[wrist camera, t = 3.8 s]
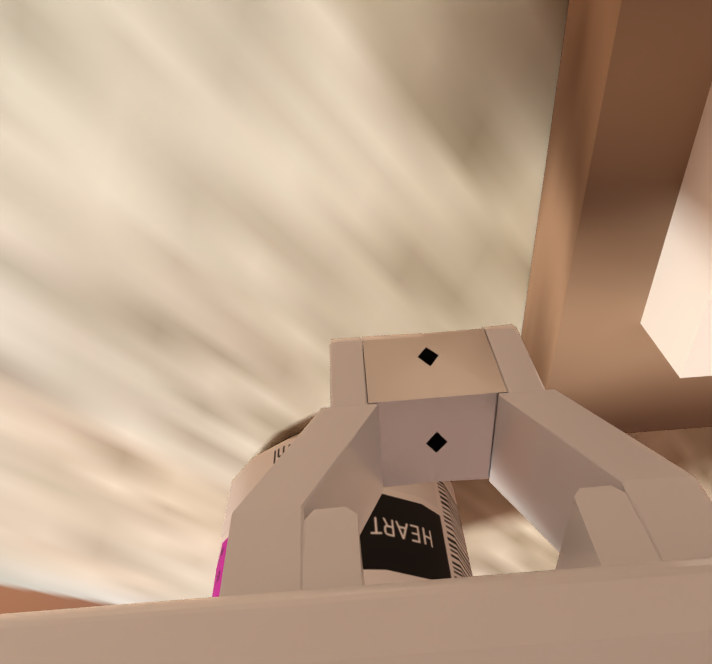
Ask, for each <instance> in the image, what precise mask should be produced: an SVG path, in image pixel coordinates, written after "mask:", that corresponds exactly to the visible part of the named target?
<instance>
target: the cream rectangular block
mask: <svg viewBox="0 0 712 664" xmlns="http://www.w3.org/2000/svg"><path fill="white" fill-rule="evenodd" d="M641 325H642V326H643V328H644V329H645V330H646V332H647V333H648V335H649V336H650V337H651V339H652V340H653V341H654V343H655V344H656V346H657V347H658V348H659V350H660V351H661V352H662V354H663V355H664V357H665V358H666V359H667V361H668V362H669V364H670V365H671V366H672V368H673V369H674V370H675V372H676V373H677V375H678V376H679V377H680V378H688V377H701V376H712V83H711V87H710V90H709V94H708V97H707V100H706V104H705V107H704V110H703V114H702V117H701V121H700V124H699V127H698V131H697V134H696V137H695V141H694V144H693V147H692V151H691V154H690V158H689V161H688V164H687V168H686V171H685V174H684V178H683V181H682V185H681V188H680V191H679V195H678V198H677V201H676V205H675V208H674V211H673V215H672V218H671V222H670V225H669V228H668V232H667V235H666V238H665V242H664V245H663V249H662V252H661V255H660V259H659V262H658V265H657V269H656V272H655V275H654V279H653V282H652V286H651V289H650V292H649V296H648V299H647V302H646V306H645V309H644V313H643V316H642V319H641Z"/></svg>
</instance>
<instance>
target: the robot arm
mask: <svg viewBox="0 0 712 664" xmlns="http://www.w3.org/2000/svg"><path fill="white" fill-rule="evenodd" d="M362 344H363V348H362ZM363 358H364V359H363ZM330 403H331V407H330V408H322V409H320V411H319V412H318V413H317V414H316V415H315V417H314V418H313V419H312V420H311V421H310V422H309V424H308V425H307V426H306V427H305V428H304V429H303V431H302V432H301V433H300V434H299V435H298V436H297V438H296V439H295V440H294V441H293V442H292V443H291V445H290V446H289V447H288V448H287V449H286V450H285V452H284V453H283V454H282V455H281V456H280V457H279V459H278V460H277V461H276V462H275V463H274V465H273V466H272V467H271V468H270V469H269V470H268V472H267V473H266V474H265V475H264V476H263V477H262V479H261V480H260V481H259V482H258V483H257V484H256V486H255V487H254V488H253V489H252V490H251V491H250V493H249V494H248V495H247V496H246V497H245V498H244V500H243V501H242V502H241V503H240V504H239V506H238V507H237V508H236V509H235V510H234V511H233V513H232V516H231V523H230V529H229V536H228V542H227V549H226V555H225V561H224V568H223V574H222V581H221V587H220V594H219V597H209V598H196V599H184V600H171V601H159V602H146V603H134V604H121V605H109V606H96V607H84V608H71V609H59V610H47V611H34V612H22V613H9V614H0V664H712V502H711V500H710V499H709V497H708V496H707V494H706V493H705V491H704V489H703V488H702V486H701V485H700V483H699V482H698V480H697V479H696V477H695V476H693V475H692V474H690V473H688V472H687V471H685V470H684V469H682V468H680V467H679V466H677V465H676V464H674V463H672V462H671V461H669V460H667V459H666V458H664V457H663V456H661V455H659V454H658V453H656V452H655V451H653V450H651V449H650V448H648V447H647V446H645V445H643V444H642V443H640V442H639V441H637V440H635V439H634V438H632V437H631V436H629V435H627V434H626V433H624V432H622V431H621V430H619V429H618V428H616V427H614V426H613V425H611V424H610V423H608V422H606V421H605V420H603V419H602V418H600V417H598V416H597V415H595V414H594V413H592V412H590V411H589V410H587V409H586V408H584V407H582V406H581V405H579V404H578V403H576V402H574V401H573V400H571V399H569V398H568V397H566V396H565V395H563V394H561V393H560V392H558V391H557V390H555V389H553V390H545V388H544V386H543V384H542V382H541V379H540V377H539V375H538V373H537V371H536V369H535V366H534V364H533V362H532V360H531V358H530V356H529V353H528V351H527V349H526V347H525V345H524V343H523V341H522V338H521V336H520V334H519V332H518V330H517V328H516V327H515V326H514V325H512V324H509V325H500V326H491V327H482V328H481V329H470V330H459V331H447V332H436V333H424V334H422V333H417V334H401V335H384V336H368V337H362V339H361V338H360V337H355V338H342V339H331V342H330ZM476 479H489V482H490V483H491V484H492V485H493V486H494V487H495V488H496V489H497V490H498V491H499V492H500V493H501V494H502V495H503V496H504V497H505V498H506V499H507V500H508V501H509V502H510V503H511V504H512V505H513V506H514V507H515V508H516V509H517V510H518V511H519V512H520V513H521V514H522V515H523V516H524V517H525V518H526V519H527V520H528V521H529V522H530V523H531V524H532V525H533V526H534V527H535V528H536V529H537V530H538V531H539V532H540V533H541V534H542V535H543V536H544V537H545V538H546V540H547V541H548V542H549V543H550V544H551V545H552V546H553V547H554V548H555V549H556V550H557V551H558V552H559V553H560V554H559V558H558V562H557V566H556V569H555V570H547V571H535V572H522V573H510V574H497V575H484V576H472V577H459V578H447V579H434V580H421V581H409V582H396V583H384V584H371V585H365V582H364V572H363V563H362V553H361V544H360V534H361V532H362V530H363V528H364V526H365V524H366V523H367V521H368V519H369V517H370V515H371V513H372V511H373V509H374V508H375V506H376V504H377V502H378V500H379V498H380V496H381V494H382V493H383V491H384V489H383V487H391V486H400V485H410V484H419V483H428V482H440V481H458V480H476Z"/></svg>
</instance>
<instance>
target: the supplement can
mask: <svg viewBox="0 0 712 664" xmlns="http://www.w3.org/2000/svg"><path fill="white" fill-rule="evenodd" d="M298 435H299V434H296V435H294V436H292V437H290V438H289V439H287V440H285V441H283V442H281V443H279V444H277V445H275V446H273V447H272V448H270V449H268V450H266V451H264V452H262V453H260V454H258V455H257V456H255V457H253V458H252V459H251V460H250V461H249V462H248V463H247V464H246V466H245V467H244V468H243V469H242V470H241V471H240V472H239V474H238V475H237V476H236V477H235V478H234V479H233V480H232V483H231V488H230V492H229V497H228V501H227V505H226V512H225V518H224V524H223V531H222V537H221V544H220V550H219V556H218V563H217V569H216V576H215V582H214V588H213V595H212V597H219V594H220V587H221V581H222V574H223V568H224V561H225V555H226V549H227V542H228V536H229V529H230V523H231V516H232V513H233V511H234V510H235V509H236V508H237V507H238V506H239V504H240V503H241V502H242V501H243V500H244V498H245V497H246V496H247V495H248V494H249V493H250V491H251V490H252V489H253V488H254V487H255V486H256V484H257V483H258V482H259V481H260V480H261V479H262V477H263V476H264V475H265V474H266V473H267V472H268V470H269V469H270V468H271V467H272V466H273V465H274V463H275V462H276V461H277V460H278V459H279V457H280V456H281V455H282V454H283V453H284V452H285V450H286V449H287V448H288V447H289V446H290V445H291V443H292V442H293V441H294V440H295V439H296V438H297V436H298ZM383 489H384V491H383V493H382V494H381V496H380V498H379V500H378V502H377V504H376V506H375V508H374V509H373V511H372V513H371V515H370V517H369V519H368V521H367V523H366V524H365V526H364V528H363V530H362V532H361V534H360V544H361V553H362V563H363V572H364V582H365V585H371V584H384V583H396V582H409V581H421V580H434V579H447V578H459V577H472V571H471V567H470V562H469V557H468V553H467V548H466V543H465V539H464V534H463V530H462V525H461V520H460V516H459V511H458V506H457V502H456V497H455V493H454V488H453V485H452V483H451V481H440V482H428V483H419V484H410V485H400V486H391V487H383Z"/></svg>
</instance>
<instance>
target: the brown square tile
mask: <svg viewBox="0 0 712 664" xmlns="http://www.w3.org/2000/svg"><path fill="white" fill-rule="evenodd" d="M711 83H712V0H569V5H568V12H567V19H566V26H565V33H564V40H563V47H562V54H561V61H560V68H559V75H558V82H557V89H556V96H555V103H554V110H553V117H552V124H551V131H550V138H549V146H548V153H547V160H546V167H545V174H544V181H543V188H542V195H541V202H540V209H539V216H538V223H537V230H536V237H535V244H534V251H533V258H532V265H531V272H530V279H529V286H528V293H527V300H526V307H525V314H524V321H523V328H522V335H521V338H522V341H523V343H524V345H525V347H526V349H527V351H528V353H529V356H530V358H531V360H532V362H533V364H534V366H535V369H536V371H537V373H538V375H539V377H540V379H541V382H542V384H543V386H544V388H545V390H553V389H555V390H557V391H558V392H560V393H561V394H563V395H565V396H566V397H568V398H569V399H571V400H573V401H574V402H576V403H578V404H579V405H581V406H582V407H584V408H586V409H587V410H589V411H590V412H592V413H594V414H595V415H597V416H598V417H600V418H602V419H603V420H605V421H606V422H608V423H610V424H611V425H613V426H614V427H616V428H618V429H619V430H621V431H622V432H624V433H633V432H647V431H660V430H673V429H686V428H699V427H712V376H701V377H688V378H680V377H679V376H678V375H677V373H676V372H675V370H674V369H673V368H672V366H671V365H670V364H669V362H668V361H667V359H666V358H665V357H664V355H663V354H662V352H661V351H660V350H659V348H658V347H657V346H656V344H655V343H654V341H653V340H652V339H651V337H650V336H649V335H648V333H647V332H646V330H645V329H644V328H643V326H642V325H641V319H642V316H643V313H644V309H645V306H646V302H647V299H648V296H649V292H650V289H651V286H652V282H653V279H654V275H655V272H656V269H657V265H658V262H659V259H660V255H661V252H662V249H663V245H664V242H665V238H666V235H667V232H668V228H669V225H670V222H671V218H672V215H673V211H674V208H675V205H676V201H677V198H678V195H679V191H680V188H681V185H682V181H683V178H684V174H685V171H686V168H687V164H688V161H689V158H690V154H691V151H692V147H693V144H694V141H695V137H696V134H697V131H698V127H699V124H700V121H701V117H702V114H703V110H704V107H705V104H706V100H707V97H708V94H709V90H710V87H711Z"/></svg>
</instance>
